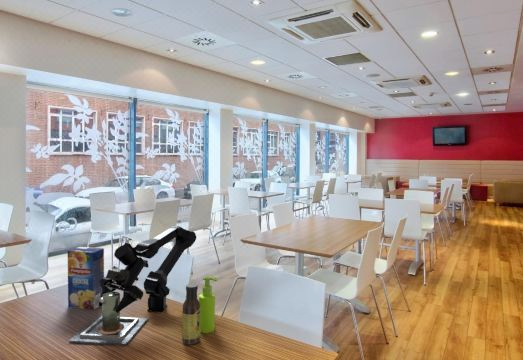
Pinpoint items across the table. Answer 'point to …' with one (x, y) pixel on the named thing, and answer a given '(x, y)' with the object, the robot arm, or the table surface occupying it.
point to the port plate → (116, 338)
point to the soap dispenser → (207, 307)
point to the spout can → (110, 311)
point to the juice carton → (85, 277)
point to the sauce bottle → (191, 316)
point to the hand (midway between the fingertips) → (107, 309)
